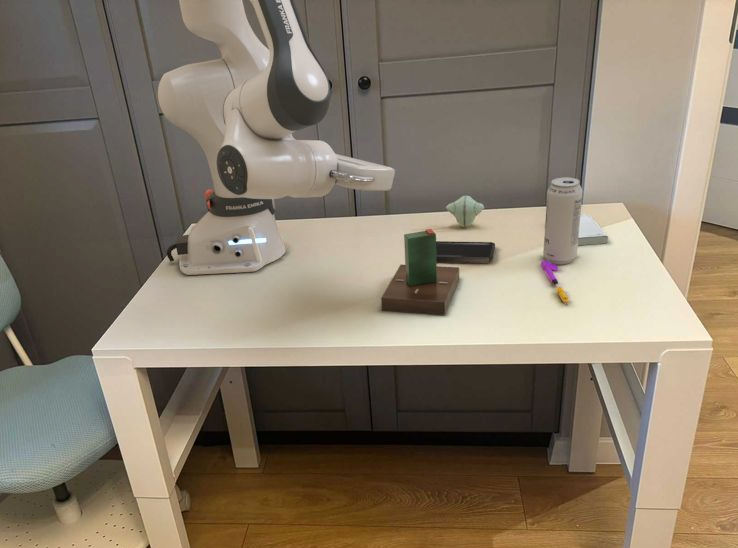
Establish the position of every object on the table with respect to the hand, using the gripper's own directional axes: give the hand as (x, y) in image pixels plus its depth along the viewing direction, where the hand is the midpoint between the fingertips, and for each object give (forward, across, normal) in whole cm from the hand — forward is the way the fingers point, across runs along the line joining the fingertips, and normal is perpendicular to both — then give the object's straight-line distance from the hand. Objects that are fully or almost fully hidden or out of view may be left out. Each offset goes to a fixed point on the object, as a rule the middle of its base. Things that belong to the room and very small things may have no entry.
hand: (371, 168), depth 122 cm
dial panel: (+6, -10, +20) cm, 24 cm away
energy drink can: (+32, -21, +14) cm, 41 cm away
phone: (+23, -4, +16) cm, 28 cm away
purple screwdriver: (+23, -27, +16) cm, 39 cm away
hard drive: (+45, -17, +10) cm, 49 cm away
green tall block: (+6, -10, +18) cm, 22 cm away
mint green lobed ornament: (+35, +4, +13) cm, 38 cm away
